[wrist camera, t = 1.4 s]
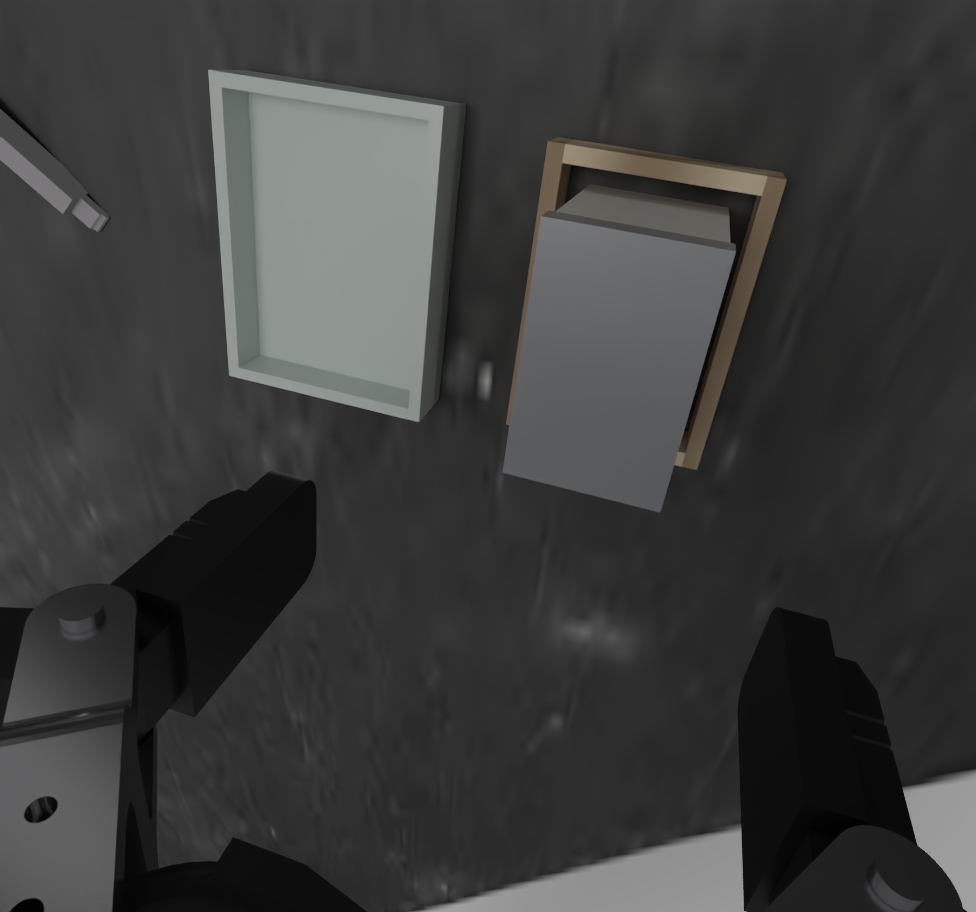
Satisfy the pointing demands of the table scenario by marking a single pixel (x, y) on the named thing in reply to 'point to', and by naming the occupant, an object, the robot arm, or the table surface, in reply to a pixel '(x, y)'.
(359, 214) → the tray
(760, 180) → the holder
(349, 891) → the table surface
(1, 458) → the table surface
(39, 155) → the caliper
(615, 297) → the gray rectangular box
